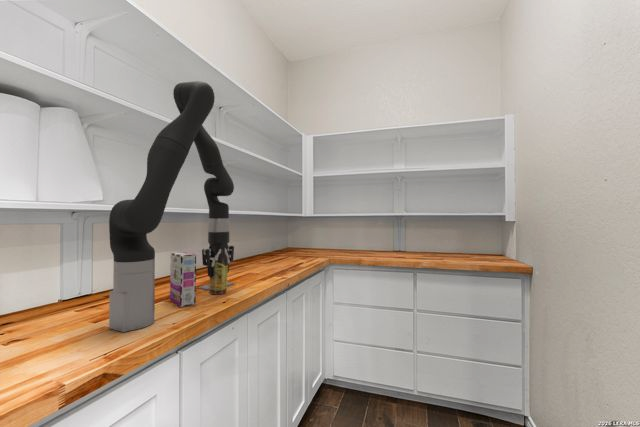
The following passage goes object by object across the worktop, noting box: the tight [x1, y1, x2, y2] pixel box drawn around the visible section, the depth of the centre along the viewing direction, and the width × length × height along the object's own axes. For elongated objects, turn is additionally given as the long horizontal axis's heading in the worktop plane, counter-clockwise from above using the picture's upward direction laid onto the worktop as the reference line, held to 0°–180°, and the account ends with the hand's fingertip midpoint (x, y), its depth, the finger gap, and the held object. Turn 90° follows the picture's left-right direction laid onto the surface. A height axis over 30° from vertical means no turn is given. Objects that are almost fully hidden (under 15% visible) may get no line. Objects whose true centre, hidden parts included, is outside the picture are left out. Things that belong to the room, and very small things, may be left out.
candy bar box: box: [169, 251, 197, 308], centre depth 95 cm, size 11×5×16 cm, turn 44°
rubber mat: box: [197, 281, 235, 292], centre depth 117 cm, size 12×8×1 cm, turn 155°
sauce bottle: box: [209, 244, 229, 295], centre depth 107 cm, size 7×6×20 cm
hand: (218, 274), depth 107 cm, fingers open, 6 cm apart
